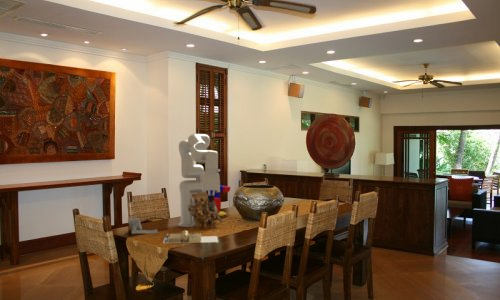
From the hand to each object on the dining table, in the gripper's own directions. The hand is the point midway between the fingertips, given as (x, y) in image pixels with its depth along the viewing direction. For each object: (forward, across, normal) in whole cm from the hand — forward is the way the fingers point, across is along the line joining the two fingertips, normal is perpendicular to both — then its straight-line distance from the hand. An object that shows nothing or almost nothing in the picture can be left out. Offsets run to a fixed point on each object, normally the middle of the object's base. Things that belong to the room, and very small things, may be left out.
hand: (211, 201), depth 254 cm
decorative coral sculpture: (+24, +4, -42) cm, 48 cm away
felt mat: (+23, +12, 0) cm, 26 cm away
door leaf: (+23, +11, +1) cm, 25 cm away
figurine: (+24, -5, -85) cm, 88 cm away
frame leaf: (+23, +20, 0) cm, 30 cm away
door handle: (+24, +43, -24) cm, 54 cm away
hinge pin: (+23, +26, 0) cm, 35 cm away
